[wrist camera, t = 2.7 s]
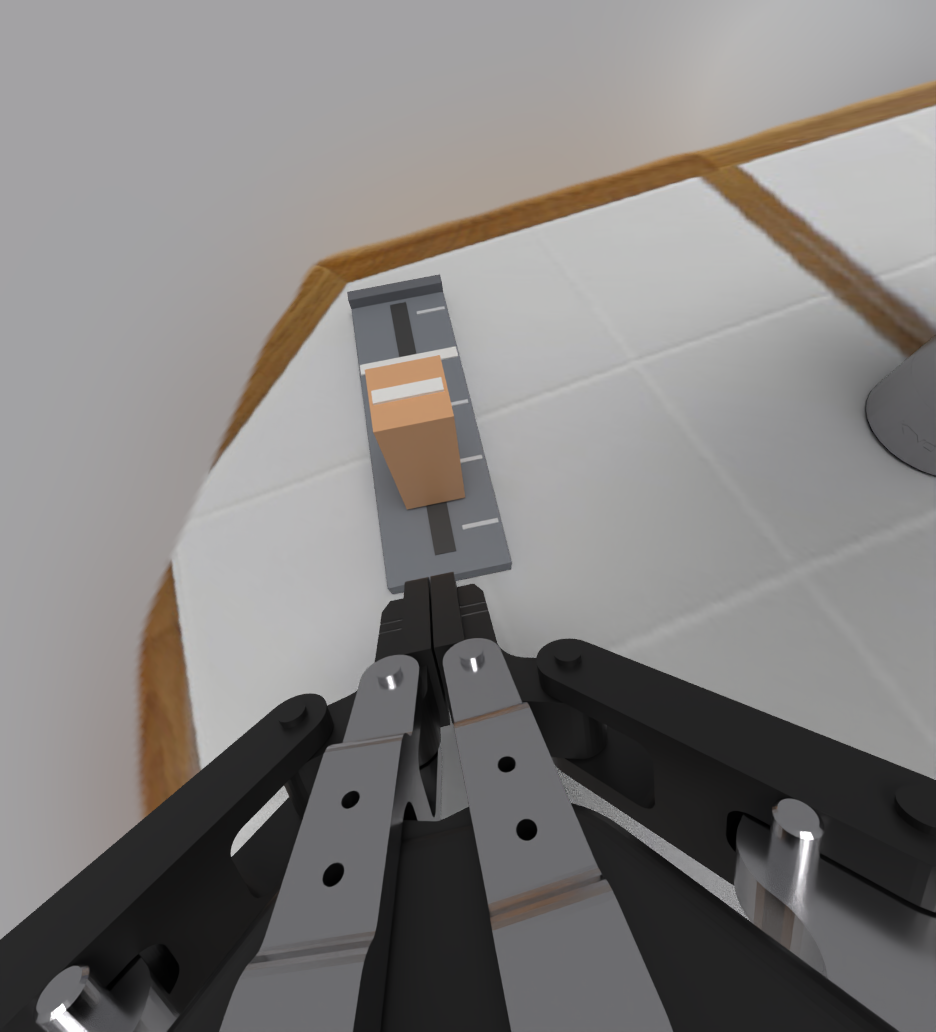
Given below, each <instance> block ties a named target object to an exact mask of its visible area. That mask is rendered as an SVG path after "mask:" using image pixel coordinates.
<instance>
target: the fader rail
mask: <svg viewBox="0 0 936 1032" xmlns="http://www.w3.org/2000/svg"><path fill="white" fill-rule="evenodd" d="M347 293H348V301H349V303H350V306H351V309H352V316H353V324H354V332H355V340H356V347H357V355H358V363H359V370H360V378H361V386H362V394H363V401H364V409H365V417H366V424H367V432H368V440H369V448H370V455H371V463H372V471H373V478H374V486H375V494H376V502H377V509H378V517H379V525H380V532H381V540H382V548H383V556H384V563H385V571H386V579H387V586H388V589H389V590H390V592H391V593H392V594H396V593H401V592H404V585H405V582H406V581H411V580H416V579H421V578H425V577H429V579H430V576H435V575H439V574H444V573H449V572H454V575H455V580H456V581H457V580H462V579H467V578H471V577H476V576H481V575H486V574H490V573H495V572H500V571H504V570H509V569H511V565H512V561H511V557H510V553H509V549H508V545H507V541H506V537H505V534H504V530H503V526H502V522H501V518H500V514H499V510H498V506H497V502H496V498H495V494H494V490H493V486H492V482H491V479H490V475H489V471H488V467H487V463H486V459H485V455H484V451H483V447H482V443H481V439H480V435H479V431H478V427H477V424H476V420H475V416H474V412H473V408H472V404H471V400H470V396H469V392H468V388H467V384H466V380H465V376H464V372H463V369H462V365H461V361H460V357H459V353H458V349H457V345H456V341H455V337H454V333H453V329H452V325H451V321H450V317H449V313H448V310H447V306H446V302H445V298H444V294H443V288H442V281H441V277H440V275H435V276H429V277H424V278H419V279H414V280H408V281H403V282H398V283H393V284H387V285H382V286H377V287H371V288H366V289H361V290H356V291H350V292H347ZM437 355H440V357H441V362H442V366H443V370H444V375H445V379H446V383H447V388H448V392H449V396H450V401H451V405H452V409H453V414H454V419H455V427H456V434H457V441H458V448H459V455H460V463H461V470H462V477H463V484H464V492H465V498H461V499H456V500H451V501H446V502H441V503H436V504H432V505H427V506H422V507H417V508H412V509H406V506H405V504H404V502H403V499H402V497H401V495H400V493H399V490H398V488H397V486H396V483H395V481H394V479H393V477H392V474H391V472H390V470H389V467H388V465H387V463H386V460H385V458H384V456H383V454H382V451H381V449H380V447H379V444H378V442H377V440H376V438H375V435H374V433H373V427H372V420H371V412H370V405H369V398H368V390H367V383H366V376H365V370H366V369H371V368H376V367H381V366H386V365H391V364H396V363H402V362H407V361H412V360H417V359H422V358H427V357H432V356H437ZM430 583H431V582H430Z"/></svg>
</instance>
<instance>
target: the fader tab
mask: <svg viewBox="0 0 936 1032" xmlns="http://www.w3.org/2000/svg"><path fill="white" fill-rule="evenodd" d="M365 376H366V383H367V390H368V398H369V405H370V412H371V420H372V427H373V433H374V435H375V438H376V440H377V442H378V444H379V447H380V449H381V451H382V454H383V456H384V458H385V460H386V463H387V465H388V467H389V470H390V472H391V474H392V477H393V479H394V481H395V483H396V486H397V488H398V490H399V493H400V495H401V497H402V499H403V502H404V504H405V506H406V509H412V508H417V507H422V506H427V505H432V504H436V503H441V502H446V501H451V500H456V499H461V498H465V492H464V484H463V477H462V470H461V463H460V455H459V448H458V441H457V434H456V427H455V419H454V414H453V409H452V405H451V401H450V396H449V392H448V388H447V383H446V379H445V375H444V370H443V366H442V362H441V357H440V355H437V356H432V357H427V358H422V359H417V360H412V361H407V362H402V363H396V364H391V365H386V366H381V367H376V368H371V369H366V370H365Z"/></svg>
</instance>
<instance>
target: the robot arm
mask: <svg viewBox="0 0 936 1032" xmlns="http://www.w3.org/2000/svg"><path fill="white" fill-rule="evenodd" d="M866 411H867V418H868V421H869V423H870V426H871V428H872V430H873V432H874V433H875V435H876V436H877V438H878V439H879V440H880V442H881V443H882V444H883V445H884V446H885V447H886V448H887V449H888V450H889V451H890V452H891V453H893V454H894V455H896V456H897V457H898V458H900V459H901V460H902V461H904V462H906V463H907V464H909V465H911V466H913V467H915V468H917V469H919V470H921V471H924V472H927V473H929V474H932V475H936V335H935V336H934V337H933V338H931V339H930V340H929V341H928V342H927V343H925V344H924V345H923V346H922V347H921V348H919V349H918V350H917V351H916V352H915V353H914V354H912V355H911V356H910V357H909V358H908V359H906V360H905V361H904V362H903V363H902V364H901V365H899V366H898V367H897V368H896V369H895V370H894V371H892V372H891V373H890V374H889V375H888V376H887V377H885V378H884V379H883V380H882V381H881V382H880V383H878V384H877V385H876V386H875V387H874V388H873V389H872V391H871V393H870V395H869V397H868V399H867V406H866ZM430 582H431V583H430ZM379 634H380V635H379V637H378V644H377V651H376V658H375V663H374V664H372V665H371V666H370V667H369V668H368V669H367V670H366V671H365V672H364V674H363V675H362V677H361V680H360V683H359V687H358V690H357V691H356V692H355V693H353V694H351V695H349V696H347V697H345V698H343V699H341V700H339V701H337V702H335V703H332V704H330V705H328V706H327V704H326V701H325V699H324V698H323V697H321V696H320V695H317V694H302V695H298V696H295V697H293V698H290V699H288V700H286V701H284V702H283V703H281V704H280V705H278V706H277V707H276V708H275V709H273V710H272V711H271V712H270V713H269V714H267V715H266V716H265V717H264V718H263V719H261V720H260V721H259V722H258V723H257V724H256V725H254V726H253V727H252V728H251V729H250V730H248V731H247V732H246V733H245V734H244V735H243V736H241V737H240V738H239V739H238V740H237V741H235V742H234V743H233V744H232V745H231V746H229V747H228V748H227V749H226V750H225V751H224V752H222V753H221V754H220V755H219V756H218V757H216V758H215V759H214V760H213V761H212V762H211V763H209V764H208V765H207V766H206V767H205V768H203V769H202V770H201V771H200V772H199V773H197V774H196V775H195V776H194V777H193V778H192V779H190V780H189V781H188V782H187V783H186V784H184V785H183V786H182V787H181V788H180V789H179V790H177V791H176V792H175V793H174V794H173V795H171V796H170V797H169V798H168V799H167V800H165V801H164V802H163V803H162V804H161V805H160V806H158V807H157V808H156V809H155V810H154V811H152V812H151V813H150V814H149V815H148V816H147V817H145V818H144V819H143V820H142V821H141V822H139V823H138V824H137V825H136V826H135V827H133V828H132V829H131V830H130V831H129V832H128V833H126V834H125V835H124V836H123V837H122V838H120V839H119V840H118V841H117V842H116V843H115V844H113V845H112V846H111V847H110V848H109V849H107V850H106V851H105V852H104V853H103V854H101V855H100V856H99V857H98V858H97V859H96V860H94V861H93V862H92V863H91V864H90V865H88V866H87V867H86V868H85V869H84V870H83V871H81V872H80V873H79V874H78V875H77V876H75V877H74V878H73V879H72V880H71V881H70V882H69V883H67V884H66V885H65V886H64V887H62V888H61V889H60V890H59V891H58V892H56V893H55V894H54V895H53V896H52V897H51V898H49V899H48V900H47V901H46V902H45V903H43V904H42V905H41V906H40V907H39V908H37V909H36V911H34V912H33V913H32V914H30V915H29V916H28V917H27V918H26V919H24V920H23V921H22V922H21V923H20V924H19V925H17V926H16V927H15V928H14V929H13V930H11V931H10V932H9V933H8V934H7V935H6V936H4V937H3V938H2V939H1V940H0V1032H936V780H934V779H931V778H929V777H927V776H924V775H922V774H919V773H917V772H914V771H912V770H909V769H907V768H904V767H901V766H899V765H896V764H894V763H891V762H889V761H886V760H884V759H881V758H879V757H876V756H874V755H871V754H869V753H866V752H863V751H861V750H858V749H856V748H853V747H851V746H848V745H846V744H843V743H841V742H838V741H836V740H833V739H831V738H828V737H825V736H823V735H820V734H818V733H815V732H813V731H810V730H808V729H805V728H803V727H800V726H798V725H795V724H793V723H790V722H788V721H785V720H782V719H780V718H777V717H775V716H772V715H770V714H767V713H765V712H762V711H760V710H757V709H755V708H752V707H750V706H747V705H744V704H742V703H739V702H737V701H734V700H732V699H729V698H727V697H724V696H722V695H719V694H717V693H714V692H712V691H709V690H706V689H704V688H701V687H699V686H696V685H694V684H691V683H689V682H686V681H684V680H681V679H679V678H676V677H674V676H671V675H669V674H666V673H663V672H661V671H658V670H656V669H653V668H651V667H648V666H646V665H643V664H641V663H638V662H636V661H633V660H631V659H628V658H625V657H623V656H620V655H618V654H615V653H613V652H610V651H608V650H605V649H603V648H600V647H598V646H595V645H593V644H590V643H587V642H585V641H582V640H577V639H560V640H556V641H553V642H550V643H548V644H547V645H545V646H544V647H543V648H542V649H541V650H540V651H539V653H538V655H537V658H523V657H516V656H513V655H510V654H508V653H506V652H504V651H503V650H502V649H501V648H500V647H499V646H498V644H497V641H496V637H495V634H494V630H493V626H492V623H491V619H490V615H489V612H488V608H487V604H486V601H485V597H484V593H483V591H482V590H481V589H480V588H479V587H477V586H476V585H475V584H470V585H465V586H460V587H457V585H456V580H455V575H454V572H449V573H444V574H439V575H435V576H430V579H429V577H425V578H421V579H416V580H411V581H406V582H405V585H404V599H399V600H394V601H390V602H389V604H388V605H387V606H386V608H385V609H384V610H383V612H382V616H381V625H380V630H379ZM449 711H450V715H451V719H452V723H453V724H454V730H455V735H456V740H457V745H458V751H459V756H460V761H461V766H462V771H463V776H464V782H465V787H466V792H467V797H468V802H469V807H467V808H465V809H463V810H461V811H459V812H457V813H455V814H454V815H452V816H450V817H448V818H446V819H443V820H441V795H442V759H443V756H442V750H441V747H440V742H441V734H440V727H443V726H448V725H450V716H449ZM554 764H555V765H556V767H557V768H558V769H559V770H561V771H562V772H563V773H565V774H566V775H568V776H569V777H571V778H572V779H574V780H575V781H577V782H578V783H580V784H581V785H583V786H585V787H586V788H588V789H589V790H591V791H592V792H594V793H595V794H597V795H598V796H600V797H601V798H603V799H604V800H606V801H607V802H609V803H610V804H612V805H613V806H615V807H616V808H618V809H619V810H621V811H622V812H624V813H625V814H627V815H628V816H630V817H631V818H633V819H634V820H636V821H637V822H639V823H640V824H642V825H643V826H645V827H646V828H648V829H649V830H651V831H652V832H654V833H655V834H657V835H658V836H660V837H661V838H663V839H664V840H666V841H667V842H669V843H670V844H672V845H673V846H675V847H677V848H678V849H680V850H681V851H683V852H684V853H686V854H687V855H689V856H690V857H692V858H693V859H695V860H696V861H698V862H699V863H701V864H702V865H704V866H705V867H707V868H708V869H710V870H711V871H713V872H714V873H716V874H717V875H719V876H720V877H722V878H723V879H725V880H726V881H728V882H729V883H731V884H732V885H734V887H735V892H736V895H737V899H738V901H739V903H740V905H741V908H742V909H743V911H744V913H745V914H746V916H747V917H748V919H749V920H750V921H751V922H750V921H749V920H747V919H746V918H745V917H743V916H742V915H741V914H739V913H738V912H737V911H735V910H734V909H732V908H731V907H730V906H728V905H727V904H726V903H724V902H723V901H722V900H720V899H719V898H718V897H716V896H715V895H713V894H712V893H711V892H709V891H708V890H707V889H705V888H704V887H703V886H701V885H700V884H699V883H697V882H696V881H694V880H693V879H692V878H690V877H689V876H688V875H686V874H685V873H684V872H682V871H681V870H680V869H678V868H677V867H675V866H674V865H673V864H671V863H670V862H669V861H667V860H666V859H665V858H663V857H662V856H660V855H659V854H658V853H656V852H655V851H654V850H652V849H651V848H650V847H648V846H647V845H646V844H644V843H643V842H641V841H640V840H639V839H637V838H636V837H635V836H633V835H632V834H631V833H629V832H628V831H627V830H625V829H624V828H622V827H621V826H620V825H618V824H617V823H615V822H614V821H612V820H610V819H609V818H607V817H605V816H603V815H602V814H600V813H598V812H595V811H593V810H591V809H588V808H586V807H583V806H579V805H576V804H572V803H570V800H569V798H568V796H567V793H566V791H565V789H564V786H563V784H562V782H561V779H560V777H559V774H558V772H557V770H556V767H555V765H554ZM283 786H285V788H286V790H287V793H288V795H289V798H288V799H287V800H286V801H285V802H284V803H283V804H282V805H281V806H280V807H279V808H278V809H277V810H276V811H275V812H274V813H273V815H272V816H271V817H270V818H269V819H268V820H267V821H266V822H265V823H264V824H263V825H262V826H261V827H260V828H259V829H258V830H257V831H256V832H255V833H254V835H253V836H252V837H251V838H250V839H249V840H248V841H247V842H246V843H245V844H244V845H243V846H242V847H241V848H240V849H239V850H238V851H237V852H236V853H235V854H234V855H233V856H232V857H231V854H230V853H231V846H232V843H233V841H234V839H235V837H236V835H237V834H238V832H239V831H240V830H241V828H242V827H243V826H244V825H245V824H246V823H247V822H248V821H249V820H250V819H251V818H252V817H253V816H254V815H255V814H256V813H257V812H258V811H259V810H260V809H261V808H262V807H263V806H264V805H265V804H266V803H267V802H268V801H269V800H270V799H271V798H272V797H273V796H274V795H275V794H276V793H277V792H278V791H279V790H280V789H281V788H282V787H283Z"/></svg>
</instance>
